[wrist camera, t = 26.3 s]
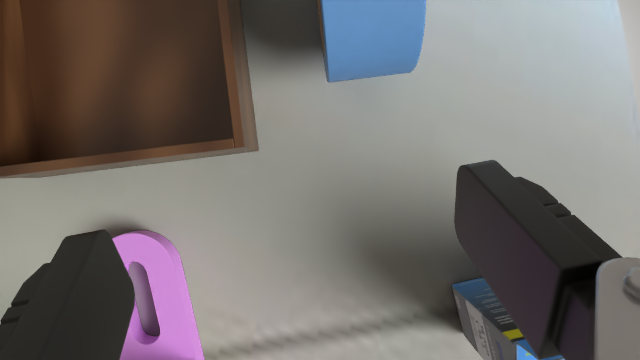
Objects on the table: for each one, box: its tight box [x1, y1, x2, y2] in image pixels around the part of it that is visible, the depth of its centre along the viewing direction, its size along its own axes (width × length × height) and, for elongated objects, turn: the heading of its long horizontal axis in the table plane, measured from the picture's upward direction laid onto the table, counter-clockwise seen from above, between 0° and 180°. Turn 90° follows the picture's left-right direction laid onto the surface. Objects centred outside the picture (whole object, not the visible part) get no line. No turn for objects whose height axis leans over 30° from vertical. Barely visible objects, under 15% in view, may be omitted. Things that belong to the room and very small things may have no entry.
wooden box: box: [0, 0, 259, 178], centre depth 27 cm, size 15×16×5 cm
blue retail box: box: [452, 277, 565, 360], centre depth 23 cm, size 9×4×12 cm, turn 103°
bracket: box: [113, 230, 204, 360], centre depth 26 cm, size 13×6×7 cm, turn 13°
